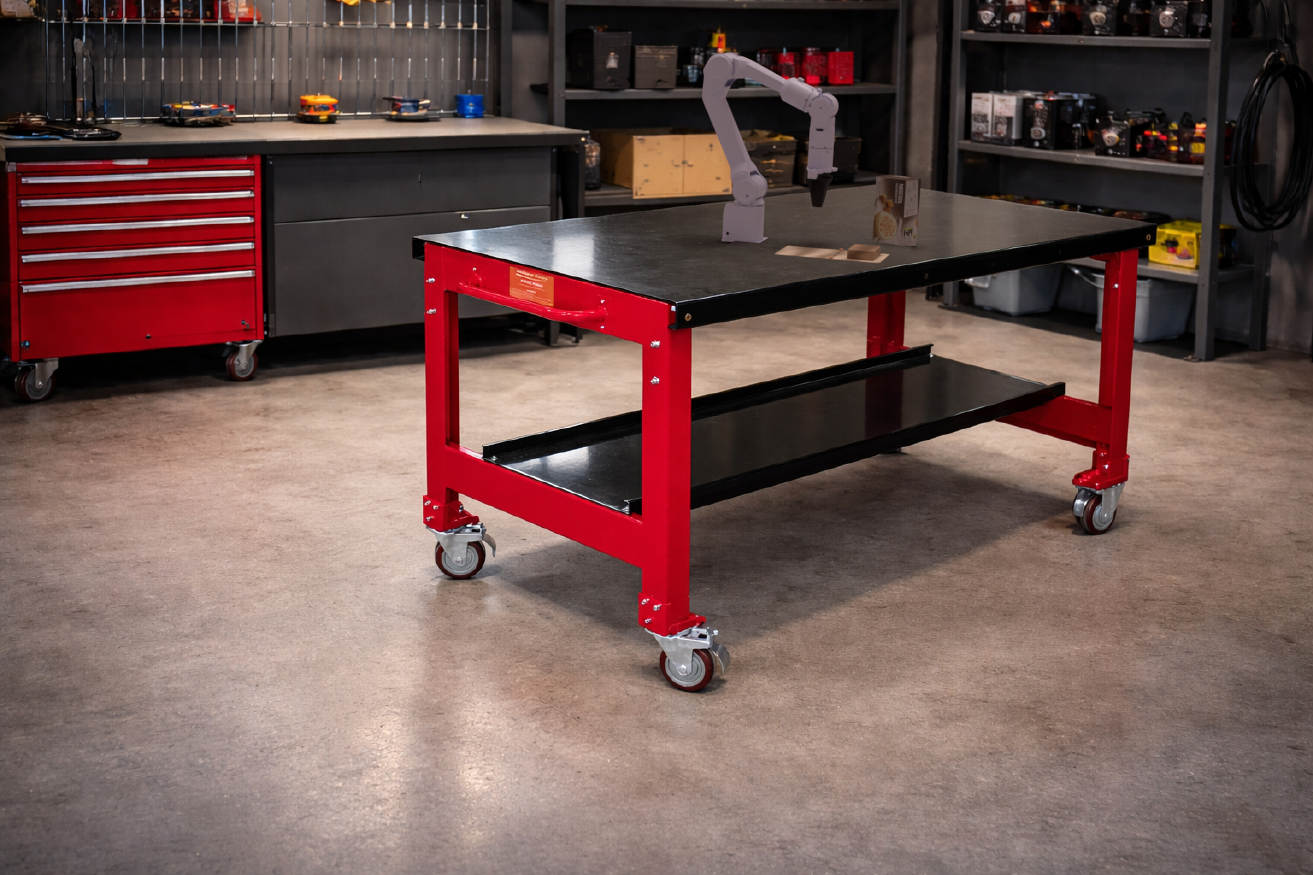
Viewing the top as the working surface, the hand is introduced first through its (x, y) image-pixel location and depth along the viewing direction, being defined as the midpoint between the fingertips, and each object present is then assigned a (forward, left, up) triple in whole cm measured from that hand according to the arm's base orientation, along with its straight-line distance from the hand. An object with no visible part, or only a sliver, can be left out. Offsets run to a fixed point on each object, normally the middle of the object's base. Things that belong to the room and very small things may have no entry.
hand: (817, 206), depth 318 cm
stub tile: (+14, -11, -9) cm, 20 cm away
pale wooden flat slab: (+7, -11, -9) cm, 16 cm away
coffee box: (+17, +12, -10) cm, 22 cm away
